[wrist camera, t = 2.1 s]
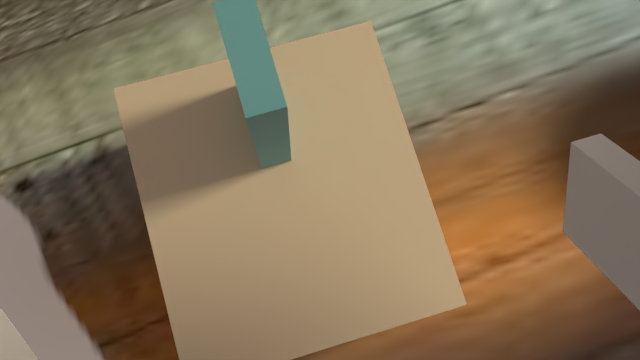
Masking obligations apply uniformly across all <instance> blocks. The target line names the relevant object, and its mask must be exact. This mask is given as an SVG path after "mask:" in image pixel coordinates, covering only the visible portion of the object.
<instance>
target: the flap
mask: <svg viewBox="0 0 640 360" xmlns="http://www.w3.org/2000/svg"><path fill="white" fill-rule="evenodd" d="M213 6H214V9H215V13H216V16H217V20H218V23H219V27H220V30H221V34H222V37H223V41H224V44H225V48H226V51H227V55H228V58H229V59H225V60H221V61H217V62H214V63H210V64H206V65H202V66H198V67H195V68H191V69H187V70H183V71H180V72H176V73H172V74H168V75H164V76H161V77H157V78H153V79H149V80H145V81H142V82H138V83H134V84H130V85H127V86H123V87H119V88H115V89H114V93H115V97H116V101H117V105H118V110H119V114H120V118H121V122H122V126H123V130H124V134H125V138H126V143H127V147H128V151H129V155H130V159H131V163H132V167H133V171H134V176H135V180H136V184H137V188H138V192H139V196H140V200H141V204H142V209H143V213H144V217H145V221H146V225H147V229H148V233H149V237H150V242H151V246H152V250H153V254H154V258H155V262H156V266H157V270H158V275H159V279H160V283H161V287H162V291H163V295H164V299H165V303H166V308H167V312H168V316H169V320H170V324H171V328H172V332H173V336H174V341H175V345H176V349H177V353H178V357H179V360H292V359H295V358H298V357H301V356H304V355H307V354H311V353H314V352H317V351H320V350H323V349H327V348H330V347H333V346H336V345H339V344H342V343H346V342H349V341H352V340H355V339H358V338H362V337H365V336H368V335H371V334H374V333H378V332H381V331H384V330H387V329H390V328H393V327H397V326H400V325H403V324H406V323H409V322H413V321H416V320H419V319H422V318H425V317H429V316H432V315H435V314H438V313H441V312H444V311H448V310H451V309H454V308H457V307H460V306H464V305H467V304H466V301H465V298H464V295H463V292H462V289H461V286H460V283H459V280H458V277H457V274H456V271H455V268H454V265H453V263H452V260H451V257H450V254H449V251H448V248H447V245H446V242H445V239H444V236H443V233H442V230H441V227H440V224H439V221H438V218H437V215H436V212H435V209H434V206H433V203H432V200H431V198H430V195H429V192H428V189H427V186H426V183H425V180H424V177H423V174H422V171H421V168H420V165H419V162H418V159H417V156H416V153H415V150H414V147H413V144H412V141H411V138H410V135H409V132H408V130H407V127H406V124H405V121H404V118H403V115H402V112H401V109H400V106H399V103H398V100H397V97H396V94H395V91H394V88H393V85H392V82H391V79H390V76H389V73H388V70H387V67H386V65H385V62H384V59H383V56H382V53H381V50H380V47H379V44H378V41H377V38H376V35H375V32H374V29H373V26H372V23H371V21H369V22H365V23H361V24H358V25H354V26H350V27H346V28H342V29H339V30H335V31H331V32H327V33H323V34H320V35H316V36H312V37H308V38H305V39H301V40H297V41H293V42H289V43H286V44H282V45H278V46H274V47H269V44H268V41H267V37H266V34H265V31H264V27H263V24H262V21H261V17H260V14H259V11H258V7H257V4H256V1H255V0H222V1H218V2H214V3H213Z"/></svg>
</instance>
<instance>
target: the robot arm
mask: <svg viewBox="0 0 640 360" xmlns="http://www.w3.org/2000/svg"><path fill="white" fill-rule="evenodd" d="M563 232H564V233H565V234H566V235H567V236H568V237H569V238H570V239H571V240H572V241H573V242H574V243H575V245H576V246H577V247H578V248H579V249H580V250H581V251H582V252H583V253H584V254H585V255H586V256H587V257H588V258H589V259H590V260H591V261H592V262H593V263H594V264H595V265H596V266H597V267H598V268H599V269H600V270H601V271H602V272H603V273H604V274H605V275H606V277H607V278H608V279H609V280H610V281H611V282H612V283H613V284H614V285H615V286H616V287H617V288H618V289H619V290H620V291H621V292H622V293H623V294H624V295H625V296H626V297H627V298H628V299H629V300H630V301H631V302H632V303H633V304H634V305H635V306H636V307H637V309H638V310H639V311H640V161H639V160H637V159H636V158H635V157H633V156H632V155H630V154H629V153H628V152H626V151H625V150H623V149H622V148H621V147H619V146H618V145H616V144H615V143H614V142H612V141H611V140H610V139H608V138H607V137H605V136H604V135H603V134H601V133H600V134H597V135H593V136H590V137H587V138H583V139H580V140H576V141H573V142H571V147H570V158H569V169H568V180H567V191H566V202H565V213H564V224H563ZM0 360H39V359H38V358H37V357H36V355H35V354H34V353H33V352H32V350H31V348H30V347H29V346H28V345H27V343H26V342H25V340H24V339H23V338H22V336H21V335H20V333H19V332H18V331H17V329H16V328H15V327H14V325H13V324H12V323H11V321H10V320H9V318H8V317H7V316H6V314H5V313H4V312H3V310H2V309H0Z"/></svg>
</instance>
